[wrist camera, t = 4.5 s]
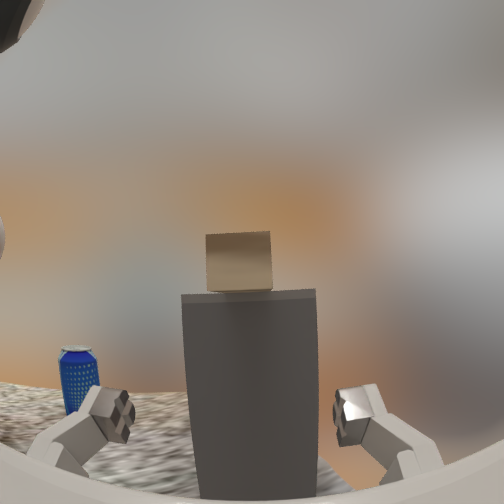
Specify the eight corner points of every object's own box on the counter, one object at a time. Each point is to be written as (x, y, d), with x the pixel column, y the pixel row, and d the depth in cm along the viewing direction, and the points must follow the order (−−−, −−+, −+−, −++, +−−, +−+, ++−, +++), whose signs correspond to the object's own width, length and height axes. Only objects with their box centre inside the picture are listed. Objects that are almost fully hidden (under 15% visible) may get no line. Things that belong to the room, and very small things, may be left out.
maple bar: (272, 288, 18) (269, 231, 19) (207, 290, 19) (205, 234, 19) (268, 293, 42) (267, 268, 43) (239, 294, 42) (238, 269, 43)
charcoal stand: (314, 517, 23) (315, 288, 27) (204, 519, 23) (181, 294, 27) (301, 462, 37) (298, 291, 41) (220, 464, 37) (208, 295, 41)
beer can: (101, 412, 55) (93, 344, 57) (108, 426, 48) (98, 350, 50) (66, 414, 50) (56, 344, 52) (69, 428, 43) (56, 350, 45)
